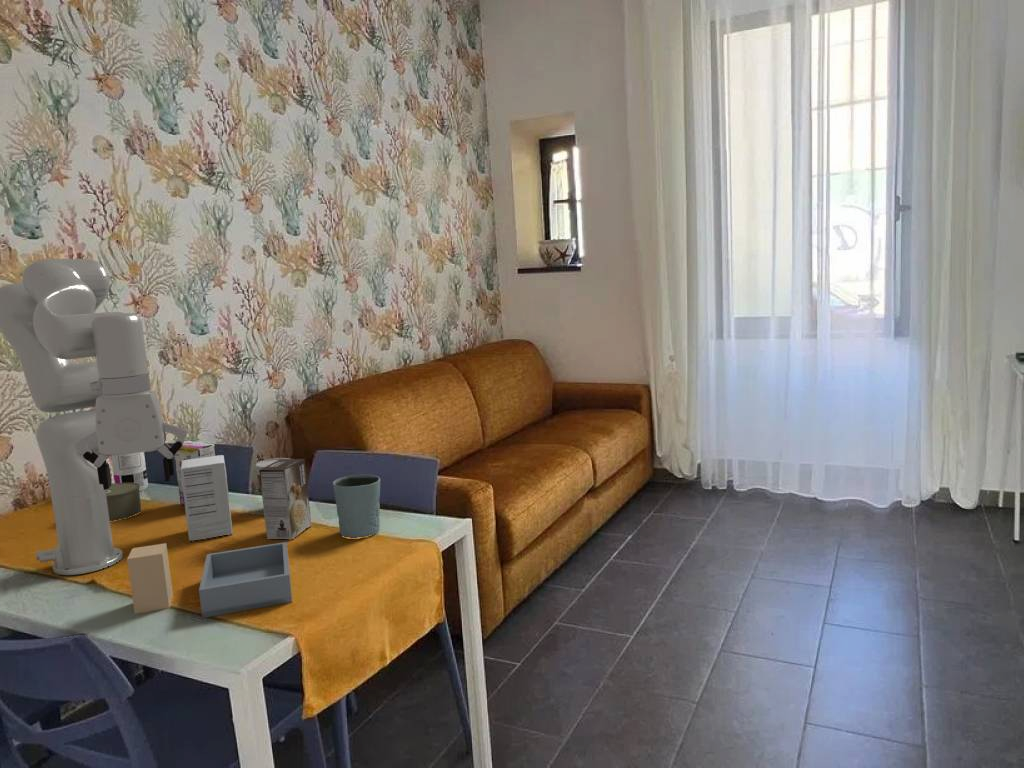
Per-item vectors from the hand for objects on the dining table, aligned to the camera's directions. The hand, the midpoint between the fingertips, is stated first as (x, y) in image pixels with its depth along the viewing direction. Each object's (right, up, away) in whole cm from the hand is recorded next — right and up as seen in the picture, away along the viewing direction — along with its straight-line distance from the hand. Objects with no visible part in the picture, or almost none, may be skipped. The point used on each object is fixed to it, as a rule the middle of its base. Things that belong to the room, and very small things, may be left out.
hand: (138, 483), depth 127 cm
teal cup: (+31, -16, +35) cm, 50 cm away
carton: (+1, -22, +3) cm, 22 cm away
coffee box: (+15, -16, +37) cm, 43 cm away
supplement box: (-4, -17, +40) cm, 44 cm away
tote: (+17, -21, +7) cm, 27 cm away
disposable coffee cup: (+7, -14, +55) cm, 57 cm away
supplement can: (-42, -13, +80) cm, 92 cm away
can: (-35, -16, +57) cm, 69 cm away
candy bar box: (-15, -14, +62) cm, 65 cm away
